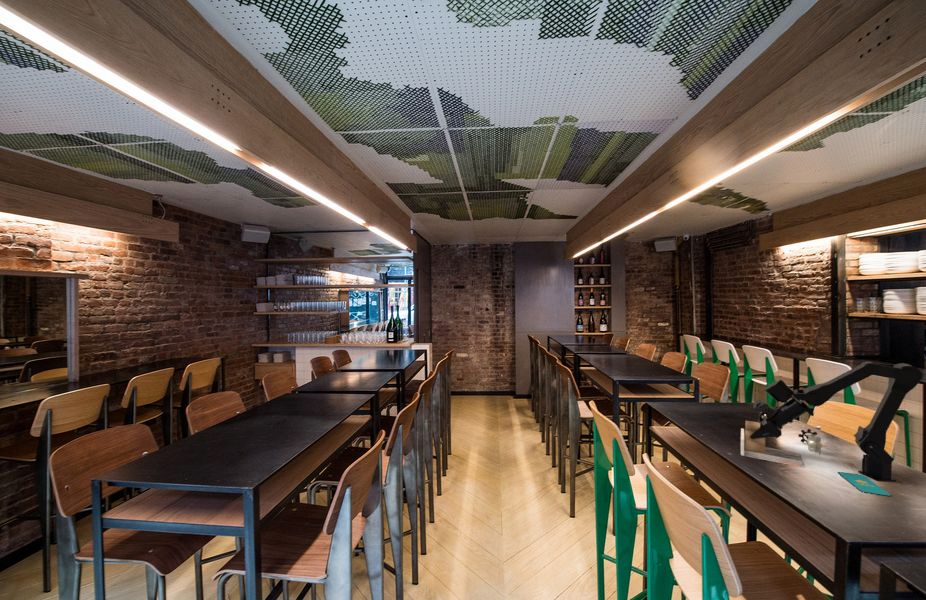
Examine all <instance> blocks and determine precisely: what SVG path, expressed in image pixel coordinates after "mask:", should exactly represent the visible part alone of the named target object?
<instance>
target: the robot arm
mask: <svg viewBox="0 0 926 600" xmlns="http://www.w3.org/2000/svg"><path fill="white" fill-rule="evenodd" d="M871 376H878V377H884V378H888V381H887V382H888V384H887V389H886V391H885V393H884V395H883V396H882V399H881V400H880V402H879V404H878V406H877V409H876V410H875V412H874V414H873V415H872V418H871V420H870V422H869V424H868V425H866V426H865V427H863V426H861V425H859V426H858V428H857V432H856V433H854V435H853V437H854V438H855V440H854V442H855V444H856V445H857V446H858V448H859V449H860V450H861V451H862V452H863V453H864V454H862V459H861V470H858V471H857V472H858V473H859V474H860V475H864V476H865V477H867V478H871V479H872V480H875V481H878V482H882V481H883V482H890V481H891V482H896V481H897V479H896V478H894V477H893V476H892V473H893V472H892V469H893V468H892V467H893V466H892V465H893V462H894V458H893V457H892V455H890V453H888V451H887V450H886V449H885V447H886V442H887V441H886V440H887V432H888V429H889V428H890V426H891V424H892V422H893V420H894V418H895V417H896V415H897V413H898V410H900V409H899V408H900V407H901V404H902V403H903V401H904V399H905V397H906V395H908V393H909V392H911V391H912V390H913V389H915V388H916V387H917V386H918V384H919V383H920V382H921V381H922V379H923V372H922V371H921V370H920V369H919V368H918V367H915V366H913V365H911V364H909V363H900V362H899V363H896V364H888V363H879V362H872V361H864V362H862V363H860V364H859V365H856V366H855V367H853V368H851V369H850V370H847V371H845V372H843V373H842V374H840V375H837V376H836V377H834V378H832V379H830V380H828V381H826V382H822V383H818V384H814V385H812V386H807V387H806V388H804V389H792V388H791V387H790V386H789V385H788V384H786V382H785V381H784V380H783V379H781V378H779V380H777V381H776V380H775V381H774V382H772V383H770V384H768V385H767V386H766V387H765V388H764V389H763V390H764V391H765V392H766V393H767V394H768V395H769V396H770V397H771V398H772V399H774V400H775V402H777V403H779V402H780V403H783V404H781V405H776V406H774V407H773V406H771V405H770V404H769V403H767V402H764V401H763V400H760V399H756V400H755V402H754V404H753V405H752V408H753V409H754V410H756V411H758V412H759V415H758V421H757V422H758V423H760V427H759V428H758V429H757V430H756V431H755V432H754V433H753V434H752V435H751V436H750V438H751V439H757V438H765V439H766V438H776V439H778V438H780V437H782V433H783V432H782V429H783V427H784V426H786V425H787V424H789V423H790V424H792V423H793V422H794V420H796V419H798V418H799V417H800V416H802V415H804V414H805V413H808V415H810V416H812V417H814V414H815V413H814V411H815V408H814V407H819V406H823V405H824V404H826V403H827V402H828V401H829V400H830V399H831V398H833V396H835V395H836V394H837V393H838V392H841V391H843V390H845V389H847V388H849V387H851V386H853V385H855V384H857V383H859V382H861V381H863V380H864V379H866V378H869V377H871ZM809 405H810V406H809Z"/></svg>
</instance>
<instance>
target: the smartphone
mask: <svg viewBox="0 0 926 600" xmlns="http://www.w3.org/2000/svg"><path fill="white" fill-rule="evenodd" d="M837 474H838V475H839V476H840V477H841V478H843V479H844V480H845V481H847V483H849V484H850V485H851V486H853V487H854V488H855V487H856V488H855V489H857V490H858V491H859V492H860V491H861V493H863V492H864V493H863V494H868V493H870V495H874V494H876V496H881V495H882V496H883V497H887V498H890V496H891V497H892V495H891V494H890V493H889V492H887V491H886V490H885V489H883V488H882V487H881V486H879V485H878V484H876V483H875V482H874V481H872V480H871V479H869V477H868V476H866V475H863V474H861V473H859V474H858V473H852V472H846V471H845V472H843V471H837ZM882 496H881V497H882Z"/></svg>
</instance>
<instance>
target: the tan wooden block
mask: <svg viewBox="0 0 926 600" xmlns="http://www.w3.org/2000/svg"><path fill="white" fill-rule="evenodd" d="M744 425H745V428H744V443H745V446H744V448H745V450H746V451H751V452H756V453H761V454H765V453H766V452H765V447H766V438H757V439H751V438H750V436H751V435H752V434H753V433H754V432H755V431H756V430H757V429H758V428H759V427H760V423H758V421H751V420H745V424H744Z"/></svg>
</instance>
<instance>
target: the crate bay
mask: <svg viewBox="0 0 926 600" xmlns="http://www.w3.org/2000/svg"><path fill="white" fill-rule="evenodd" d="M740 456H743V457H749V458H750V457H751V458H754V459H756V458H757V459H759V460H763V461H764V460H766V461H769V462H774V463H775V462H776V463H779V464H785V465H787V466H788V465H790V466H795V467H799V468H806V466H805V464H804V461H803V459H802V456H801V454H800V452H795V451H788V450H785V449H784V450H782V449H778V448H772V447H768V446H765V454H761V453H756V452H751V451H746V450H745V428H740Z"/></svg>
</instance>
